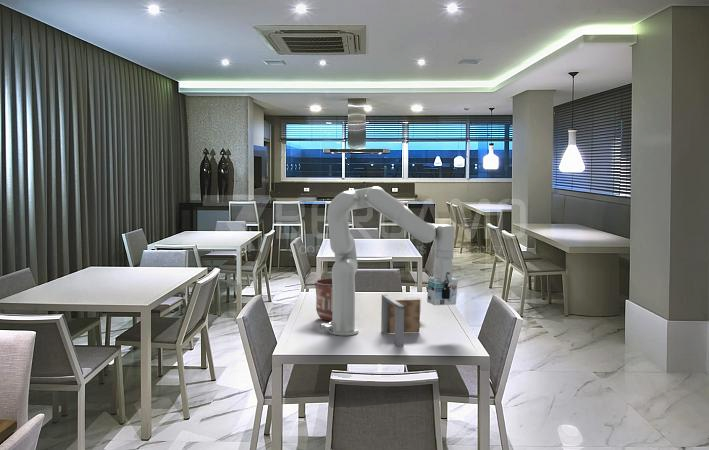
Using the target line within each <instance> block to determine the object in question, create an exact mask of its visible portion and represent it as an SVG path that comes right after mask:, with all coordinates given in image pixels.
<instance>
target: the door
mask: <svg viewBox="0 0 709 450" xmlns="http://www.w3.org/2000/svg"><path fill="white" fill-rule="evenodd" d="M420 299H421V298H420ZM420 299H414V300H404V299H394V300H395V301H397V302H398V303H400V304H401V305H403V306H404V334H408V333H409V334H411V333H420V328H421V327H420V325H421V324H420V322H421V312H420ZM386 334H395V306H393V305H392V304H390V303H389V302H388V327H387V333H386Z"/></svg>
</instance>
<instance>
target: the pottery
mask: <svg viewBox="0 0 709 450" xmlns="http://www.w3.org/2000/svg"><path fill="white" fill-rule="evenodd" d="M314 286H315V299H316V301H315V309H316V313H317V315H318V317H319V318H320V319H321V320H322V321H323V322H324V323H331V321H332V304H333V296H332V293H333V292H332V290H333V289H332V277H326V278H320V279H317V280H315V281H314Z"/></svg>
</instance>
